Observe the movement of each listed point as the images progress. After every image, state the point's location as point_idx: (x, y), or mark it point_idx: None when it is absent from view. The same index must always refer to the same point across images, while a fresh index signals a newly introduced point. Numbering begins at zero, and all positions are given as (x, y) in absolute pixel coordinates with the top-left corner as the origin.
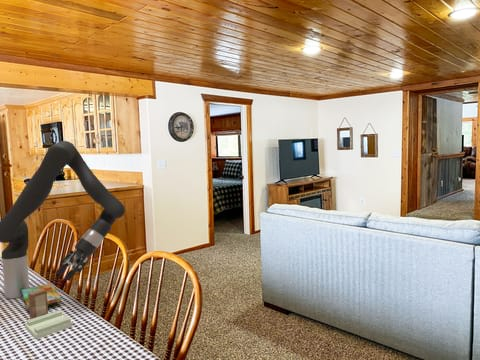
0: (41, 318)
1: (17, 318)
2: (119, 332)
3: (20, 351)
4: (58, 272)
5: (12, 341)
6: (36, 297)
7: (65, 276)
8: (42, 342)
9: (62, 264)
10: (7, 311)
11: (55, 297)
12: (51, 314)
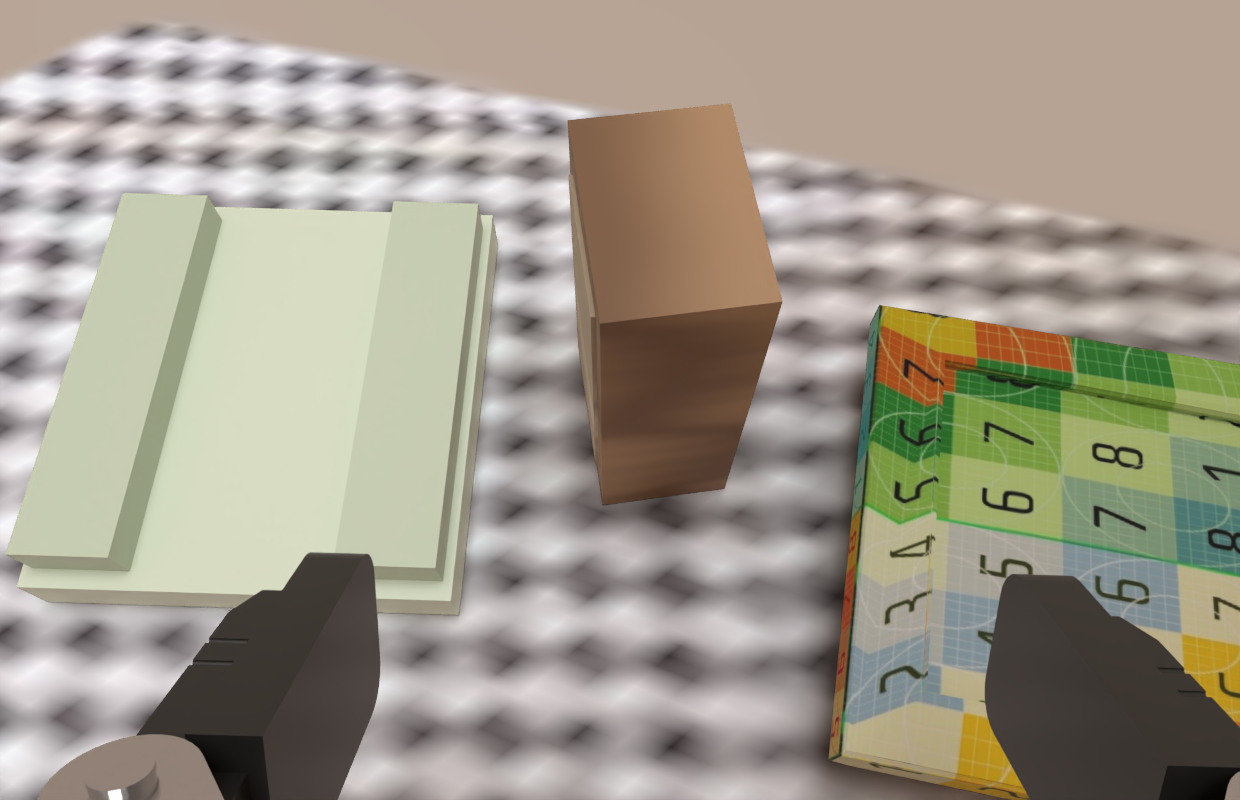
0: (380, 320)
1: (827, 262)
2: None
3: (74, 96)
4: (1020, 624)
5: (322, 104)
6: (570, 199)
7: (345, 571)
8: (33, 251)
9: (1234, 774)
10: (1123, 248)
11: (896, 677)
12: (385, 439)
